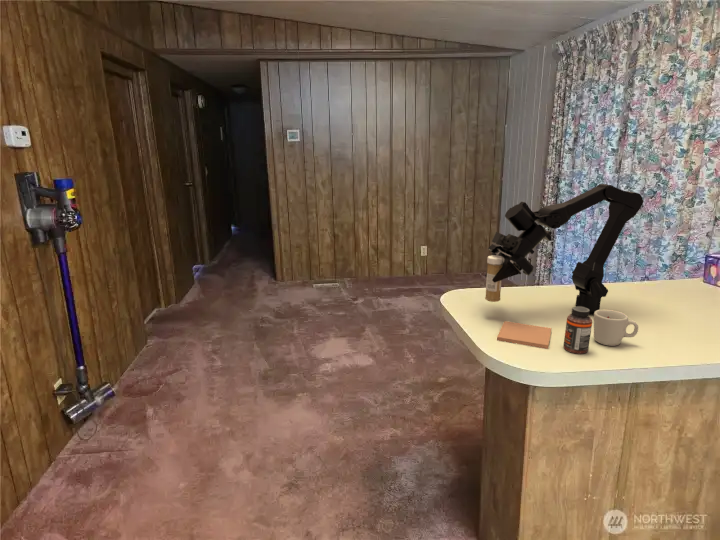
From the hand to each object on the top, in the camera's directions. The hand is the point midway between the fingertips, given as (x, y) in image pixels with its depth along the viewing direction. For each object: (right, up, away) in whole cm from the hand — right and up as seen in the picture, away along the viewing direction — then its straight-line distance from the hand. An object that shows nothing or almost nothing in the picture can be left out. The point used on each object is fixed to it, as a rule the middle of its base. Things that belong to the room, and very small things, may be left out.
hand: (489, 279), depth 142 cm
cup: (+29, -17, -14) cm, 37 cm away
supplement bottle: (+17, -18, -18) cm, 31 cm away
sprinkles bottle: (+1, -6, +2) cm, 7 cm away
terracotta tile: (+7, -16, -10) cm, 20 cm away
